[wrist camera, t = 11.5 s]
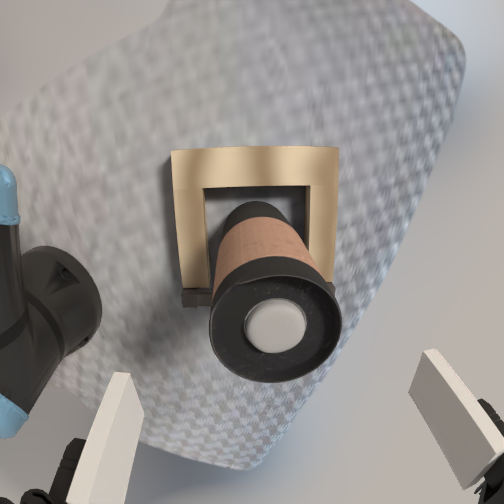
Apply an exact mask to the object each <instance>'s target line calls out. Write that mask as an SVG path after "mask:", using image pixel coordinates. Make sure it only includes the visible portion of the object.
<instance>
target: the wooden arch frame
mask: <svg viewBox="0 0 504 504" xmlns="http://www.w3.org/2000/svg"><path fill="white" fill-rule="evenodd" d="M171 162H172V179H173V194H174V207H175V219H176V230H177V240H178V250H179V260H180V269H181V277H182V285H183V291H182V294H181V297H182V304H183V308H186V307H197V306H211V305H212V297H213V289H200V287H209V285H210V279H211V274H210V262H209V248H208V233H207V218H206V200H205V188H215V187H240V186H283V185H305V230H304V245H305V247H306V248H307V250H308V252H309V253H310V255H311V257H312V258H313V260H314V262H315V264H316V265H317V267H318V269H319V270H320V272H321V274H322V276H323V277H324V279H325V281H326V283H327V284H328V286H329V288H330V290H331V291H332V293H333V295H334V297H335V287H334V285H333V284H332V280H333V268H334V255H335V241H336V224H337V203H338V171H339V148H336V147H314V146H245V147H219V148H200V149H186V150H174V151H171Z"/></svg>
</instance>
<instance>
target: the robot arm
mask: <svg viewBox="0 0 504 504" xmlns="http://www.w3.org/2000/svg"><path fill="white" fill-rule="evenodd" d="M19 224H20V215H19V214H18V203H17V183H16V178H15V176H14V174H13V172H12V171H11V170H10V169H9V168H8V167H6V166H4V165H2V164H0V438H10V437H13V436H14V435H15V434H16V433H17V432H18V431H19V429H20V428H21V426H22V425H23V424H24V422H25V421H26V420H28V418H29V416H28V415H29V413H30V411H31V409H32V407H33V406H34V404H35V402H36V401H37V399H38V397H39V396H40V394H41V392H42V391H43V389H44V387H45V386H46V384H47V382H48V381H49V379H50V378H51V376H52V374H53V373H54V371H55V370H56V368H57V366H58V365H59V363H60V362H61V360H62V359H63V358H64V357H66V356H68V355H69V354H71V353H73V352H74V351H76V350H78V349H79V348H81V347H83V346H84V345H86V344H87V343H88V342H89V341H90V340H91V338H92V337H93V335H94V334H95V332H96V331H97V329H98V327H99V325H100V322H101V318H102V304H101V299H100V295H99V292H98V289H97V287H96V285H95V283H94V281H93V279H92V277H91V276H90V274H89V273H88V272H87V270H86V269H85V268H84V267H83V266H82V264H81V263H80V262H79V261H77V260H76V259H75V258H74V257H73V256H71V255H70V254H68V253H67V252H65V251H63V250H61V249H58V248H55V247H51V246H39V247H35V248H33V249H31V250H29V251H28V252H26V253H25V254H23V255H22V256H21V252H20V240H19ZM408 393H409V394H410V396H411V397H412V399H413V401H414V402H415V404H416V406H417V408H418V409H419V411H420V413H421V415H422V416H423V418H424V420H425V421H426V423H427V425H428V426H429V428H430V430H431V432H432V434H433V435H434V437H435V439H436V441H437V442H438V444H439V446H440V448H441V450H442V451H443V453H444V455H445V457H446V459H447V460H448V462H449V464H450V466H451V468H452V470H453V472H454V474H455V476H456V477H457V479H458V481H459V483H460V485H461V487H462V489H463V490H465V489H467V488H468V487H470V486H472V485H474V484H476V483H477V482H478V481H479V480H480V479H481V478H482V477H483V476H484V478H485V481H484V482H483V483H482V484H481V485H480V486H479V487H478V488H477V489H476V490H475V492H474V494H476V493H477V492H478V491H479V490H481V489H482V490H481V492H480V493H479V495H480V498H479V502H478V504H504V422H503V421H502V420H500V417H499V416H498V414H496V412H495V410H494V409H493V408H492V406H491V405H490V404H489V403H487V402H486V401H485V400H483V399H479V400H476V399H475V397H474V396H473V395H472V393H471V392H470V391H469V389H468V388H467V387H466V386H465V384H464V383H463V382H462V380H461V379H460V378H459V377H458V375H457V374H456V373H455V372H454V370H453V369H452V368H451V367H450V365H449V364H448V363H447V362H446V360H445V359H444V358H443V357H442V355H441V354H440V353H439V352H438V351H437V349H436V348H435V349H430V350H426V351H423V353H422V356H421V359H420V362H419V365H418V368H417V371H416V374H415V376H414V379H413V381H412V384H411V387H410V389H409V392H408ZM144 415H145V414H144V411H143V409H142V406H141V403H140V401H139V398H138V395H137V392H136V389H135V386H134V384H133V381H132V378H131V375H130V373H120V372H114V373H113V376H112V378H111V380H110V383H109V385H108V387H107V390H106V392H105V395H104V397H103V399H102V402H101V404H100V407H99V409H98V412H97V414H96V417H95V420H94V423H93V425H92V428H91V430H90V433H89V435H88V438H87V440H84V439H78V438H74V439H73V440H72V441H71V442H70V444H69V445H67V447H66V450H65V452H64V455H63V459H62V460H61V462H60V467H58V470H57V473H56V475H55V478H54V481H53V484H52V486H51V489H50V492H49V494H47V493H46V492H44V491H43V490H40V489H30V490H28V491H27V492H25V493H24V495H23V496H22V497H21V502H20V504H124V502H125V497H126V492H127V487H128V483H129V478H130V473H131V469H132V465H133V460H134V456H135V451H136V447H137V443H138V439H139V435H140V431H141V427H142V423H143V419H144ZM0 504H14V503H12V502H11V501H10V500H8V499H7V498H4V497H0Z"/></svg>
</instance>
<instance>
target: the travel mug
mask: <svg viewBox="0 0 504 504" xmlns="http://www.w3.org/2000/svg"><path fill="white" fill-rule="evenodd" d="M341 329H342V316H341V311H340V308H339V305H338V303H337V300H336V298H335V297H334V295H333V293H332V291H331V290H330V288H329V286H328V284H327V283H326V281H325V279H324V277H323V276H322V274H321V272H320V270H319V269H318V267H317V265H316V264H315V262H314V260H313V258H312V257H311V255H310V253H309V252H308V250H307V248H306V247H305V245H304V243H303V242H302V240H301V238H300V237H299V235H298V234H297V232H296V231H295V230H294V228H293V227H292V226H291V224H290V223H289V222H288V221H287V219H286V218H285V217H284V216H283V214H282V213H281V212H280V211H279V210H278V209H277V208H275V207H274V206H273V205H271V204H268V203H266V202H261V201H252V202H247V203H244V204H242V205H240V206H238V207H237V208H236V209H235V210H233V212H232V213H231V214H230V215H229V217H228V219H227V221H226V223H225V227H224V230H223V234H222V238H221V242H220V246H219V250H218V256H217V264H216V272H215V280H214V288H213V297H212V305H211V314H210V320H209V336H210V342H211V345H212V348H213V351H214V353H215V355H216V356H217V358H218V359H219V360H220V362H221V363H222V364H223V365H224V366H225V367H226V368H227V369H229V370H230V371H231V372H233V373H234V374H236V375H238V376H240V377H242V378H245V379H248V380H251V381H255V382H262V383H280V382H286V381H290V380H294V379H297V378H300V377H302V376H304V375H306V374H308V373H310V372H312V371H313V370H315V369H316V368H318V367H319V366H320V365H321V364H323V363H324V362H325V361H326V360H327V359H328V358H329V356H330V355H331V354H332V352H333V351H334V349H335V347H336V346H337V343H338V341H339V338H340V334H341Z"/></svg>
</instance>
